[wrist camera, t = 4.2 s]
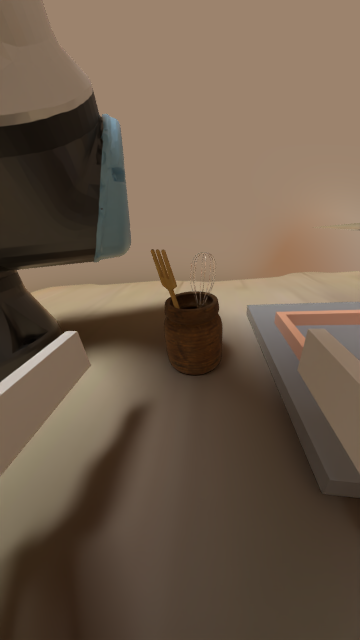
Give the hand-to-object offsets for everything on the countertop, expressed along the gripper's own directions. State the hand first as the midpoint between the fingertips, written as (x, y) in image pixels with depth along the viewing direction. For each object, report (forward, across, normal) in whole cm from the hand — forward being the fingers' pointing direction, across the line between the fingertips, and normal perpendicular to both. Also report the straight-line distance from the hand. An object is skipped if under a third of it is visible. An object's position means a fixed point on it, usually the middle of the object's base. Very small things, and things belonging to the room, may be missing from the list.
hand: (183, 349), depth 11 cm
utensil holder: (+8, 0, -7) cm, 10 cm away
